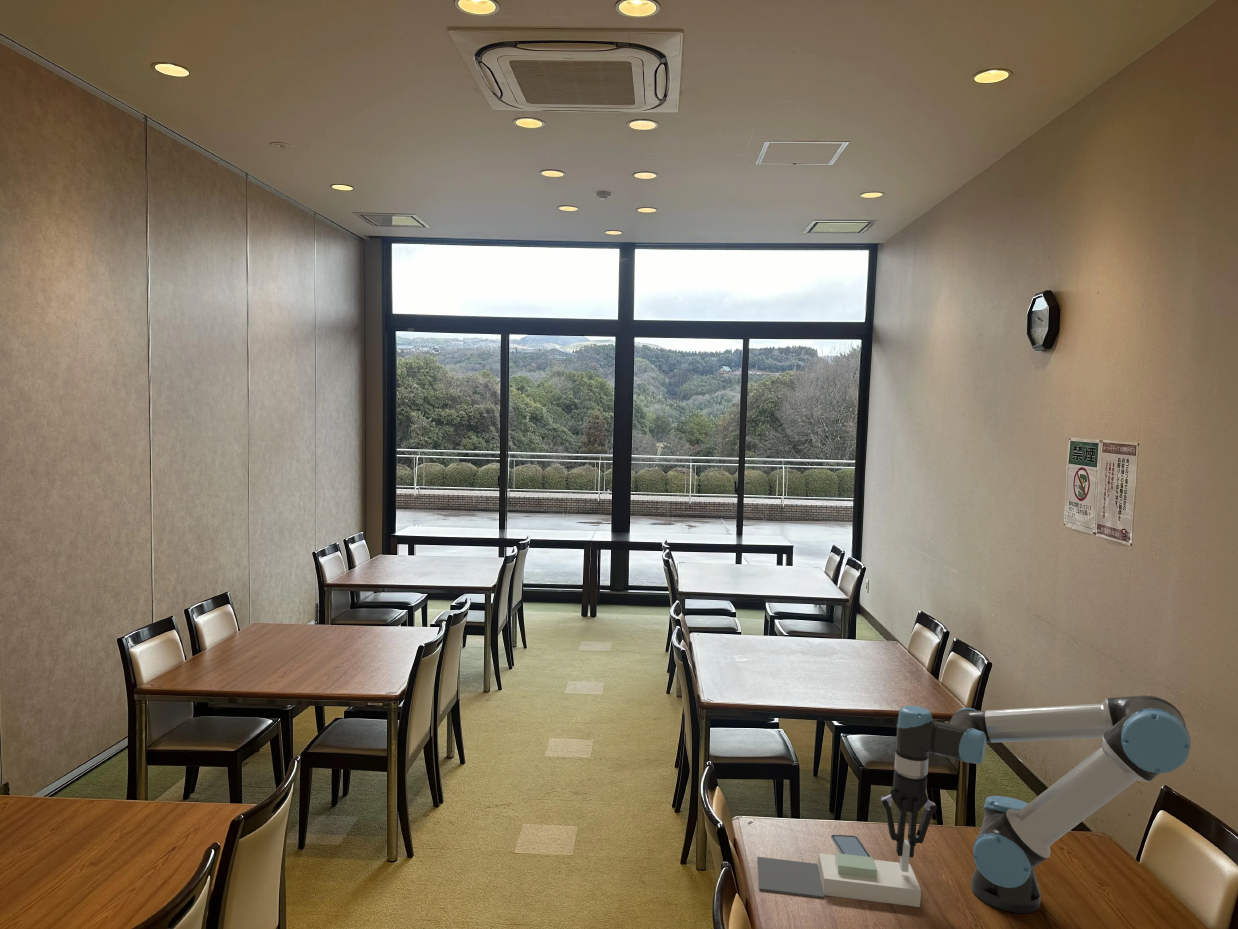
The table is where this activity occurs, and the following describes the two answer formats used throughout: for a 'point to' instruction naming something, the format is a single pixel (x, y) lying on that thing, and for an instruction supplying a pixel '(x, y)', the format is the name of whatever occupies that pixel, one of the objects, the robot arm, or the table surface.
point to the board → (871, 883)
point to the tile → (855, 865)
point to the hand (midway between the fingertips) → (903, 869)
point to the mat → (789, 877)
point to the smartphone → (849, 845)
